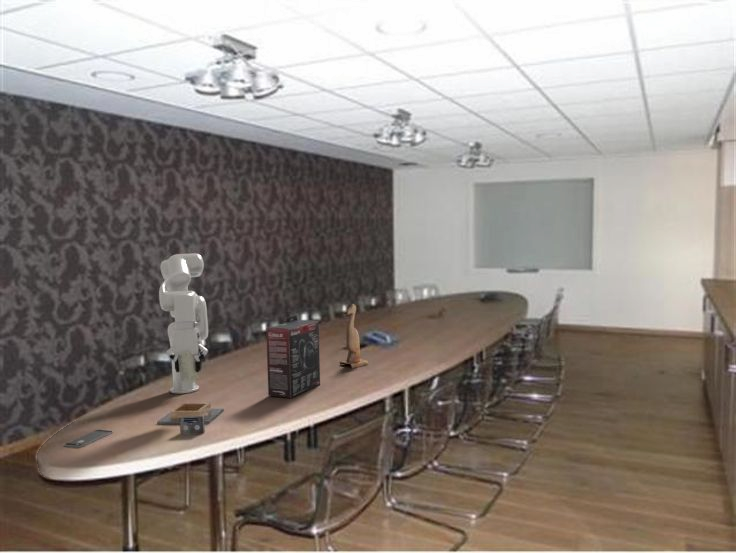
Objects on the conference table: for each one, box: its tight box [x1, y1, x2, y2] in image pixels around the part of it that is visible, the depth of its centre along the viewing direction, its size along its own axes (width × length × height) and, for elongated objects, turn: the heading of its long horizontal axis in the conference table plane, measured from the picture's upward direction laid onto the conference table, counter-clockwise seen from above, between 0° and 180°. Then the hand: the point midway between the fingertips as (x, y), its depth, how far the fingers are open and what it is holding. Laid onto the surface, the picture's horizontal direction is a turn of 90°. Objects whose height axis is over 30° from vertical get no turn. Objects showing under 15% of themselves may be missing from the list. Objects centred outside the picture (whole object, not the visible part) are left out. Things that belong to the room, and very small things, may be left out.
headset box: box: [265, 315, 321, 399], centre depth 267 cm, size 24×13×33 cm, turn 154°
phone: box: [64, 429, 114, 449], centre depth 214 cm, size 8×1×16 cm
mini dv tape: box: [179, 416, 206, 435], centre depth 216 cm, size 8×2×6 cm, turn 88°
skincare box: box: [178, 351, 200, 383], centre depth 233 cm, size 6×4×12 cm
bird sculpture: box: [339, 303, 369, 369], centre depth 313 cm, size 11×12×32 cm
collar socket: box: [156, 402, 225, 425], centre depth 235 cm, size 16×20×4 cm
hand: (188, 371), depth 233 cm, fingers closed on skincare box, 7 cm apart
